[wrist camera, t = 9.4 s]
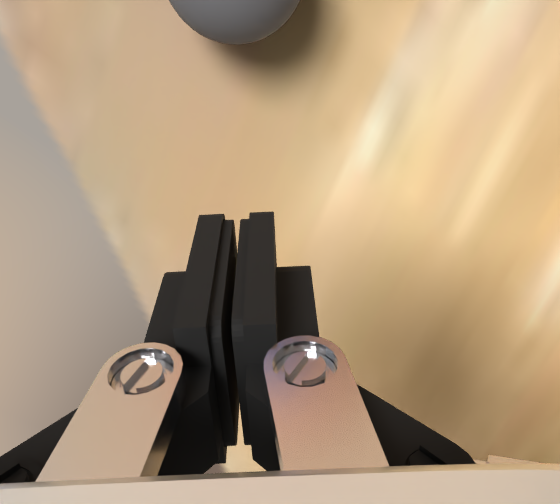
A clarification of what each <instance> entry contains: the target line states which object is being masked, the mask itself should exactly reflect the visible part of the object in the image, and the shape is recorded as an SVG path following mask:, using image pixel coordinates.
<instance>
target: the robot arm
mask: <svg viewBox="0 0 560 504" xmlns="http://www.w3.org/2000/svg"><path fill="white" fill-rule="evenodd" d="M239 402H240V411H241V419H242V428H243V436H244V444H245V445H251V447H252V456H253V460H254V461H256V462H257V463H258V464H259V465H260V466H262V467H263V468H264V469H265V470H266V471H261V472H238V473H215V474H204V473H205V472H206V471H207V470H208V469H209V468H211V467H212V466H213V465H214V464H219V463H226V453H227V446H234V445H237V434H238V417H239ZM0 504H560V464H546V463H540V462H533V461H527V460H520V459H514V458H507V457H501V456H494V455H488V458H487V461H481V460H475V459H472V458H471V456H470V455H469V454H468V453H467V452H466V451H464V450H463V449H462V448H460V447H459V446H458V445H457V444H455V443H453V442H452V441H450V440H448V439H447V438H445V437H443V436H442V435H440V434H438V433H437V432H435V431H433V430H432V429H430V428H429V427H427V426H425V425H424V424H422V423H420V422H419V421H417V420H415V419H414V418H412V417H410V416H409V415H407V414H405V413H404V412H402V411H400V410H399V409H397V408H395V407H394V406H392V405H390V404H389V403H387V402H385V401H384V400H382V399H381V398H379V397H377V396H376V395H374V394H372V393H371V392H369V391H367V390H366V389H364V388H362V387H361V386H359V385H357V384H356V382H355V379H354V377H353V374H352V372H351V369H350V367H349V364H348V362H347V359H346V357H345V355H344V354H343V352H342V351H341V349H340V348H339V347H338V346H336V345H335V344H334V343H332V342H331V341H328V340H326V339H323V338H321V337H319V332H318V324H317V316H316V308H315V300H314V292H313V284H312V276H311V268H310V266H292V267H277V263H276V244H275V226H274V212H256V213H250V216H249V219H241V221H240V231H239V242H238V253H237V246H236V236H235V226H234V220H225V216H224V214H213V215H199V218H198V222H197V226H196V231H195V235H194V239H193V243H192V247H191V252H190V256H189V260H188V264H187V269H186V271H184V272H167V273H165V274H164V277H163V280H162V283H161V287H160V290H159V293H158V297H157V300H156V303H155V307H154V310H153V314H152V317H151V320H150V324H149V327H148V330H147V334H146V337H145V341H144V343H140V344H137V345H133V346H129V347H127V348H125V349H123V350H121V351H119V352H117V353H116V354H115V355H113V356H112V357H110V358H109V359H108V360H107V361H106V363H105V364H104V365H103V367H102V368H101V370H100V371H99V373H98V375H97V376H96V378H95V380H94V382H93V383H92V385H91V387H90V388H89V390H88V392H87V394H86V395H85V397H84V399H83V400H82V402H81V404H80V406H79V407H78V408H77V409H76V410H74V411H72V412H71V413H69V414H68V415H66V416H65V417H63V418H61V419H60V420H58V421H57V422H55V423H53V424H52V425H50V426H49V427H47V428H45V429H44V430H42V431H40V432H39V433H37V434H36V435H34V436H33V437H31V438H30V439H28V440H27V441H25V442H23V443H21V444H20V445H18V446H17V447H15V448H13V449H12V450H10V451H9V452H7V453H6V454H4V455H2V456H1V457H0Z"/></svg>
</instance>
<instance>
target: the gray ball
mask: <svg viewBox="0 0 560 504" xmlns="http://www.w3.org/2000/svg"><path fill="white" fill-rule="evenodd" d="M169 1H170V3H171V5H172V6H173V8H174V9H175V11H176V12H177V13H178V15H179V16H180V17H181V18H182V20H183V21H184V22H185V23H186V24H188V25H189V26H190V27H191V28H192V29H193V30H195V31H196V32H197V33H199V34H201V35H202V36H204V37H206V38H208V39H211V40H213V41H217V42H220V43H225V44H234V45H236V44H248V43H252V42H256V41H259V40H262V39H264V38H266V37H268V36H269V35H271V34H272V33H274V32H275V31H277V30H278V29H279V28H280V27H282V26H283V25H284V24H285V23H286V21H287V20H288V19H289V18H290V17H291V15H292V14H293V12H294V11H295V9H296V7H297V5H298V3H299V1H300V0H169Z"/></svg>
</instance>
